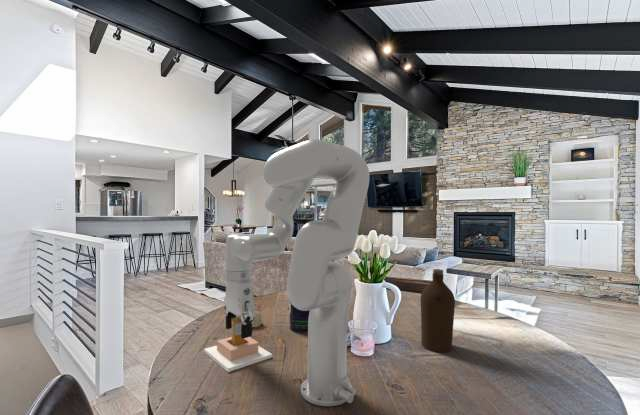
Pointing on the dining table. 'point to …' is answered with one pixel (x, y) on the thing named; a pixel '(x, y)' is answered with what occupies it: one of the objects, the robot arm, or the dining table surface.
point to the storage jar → (298, 320)
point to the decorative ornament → (256, 319)
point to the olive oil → (437, 314)
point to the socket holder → (237, 353)
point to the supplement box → (236, 331)
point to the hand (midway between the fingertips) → (238, 332)
